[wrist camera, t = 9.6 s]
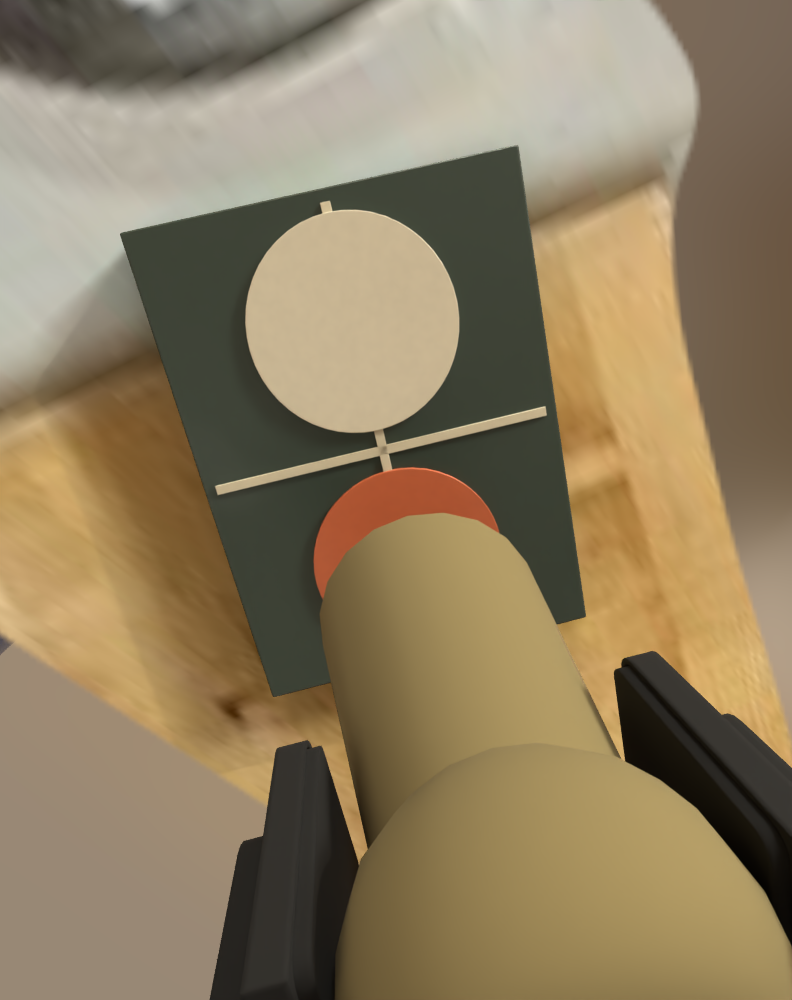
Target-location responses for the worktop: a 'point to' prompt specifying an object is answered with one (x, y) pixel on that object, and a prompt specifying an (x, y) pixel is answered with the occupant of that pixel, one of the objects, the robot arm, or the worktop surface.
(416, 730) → the cork
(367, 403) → the board
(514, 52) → the worktop surface
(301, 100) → the worktop surface
